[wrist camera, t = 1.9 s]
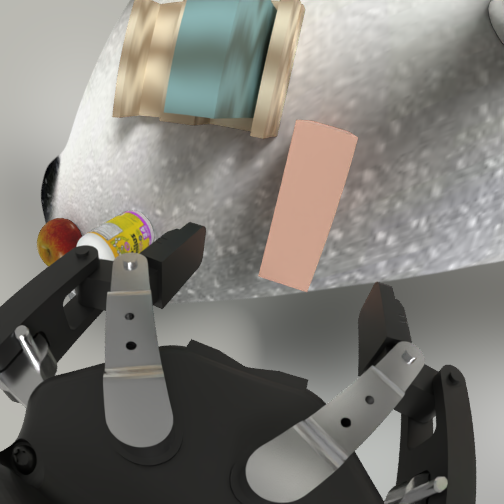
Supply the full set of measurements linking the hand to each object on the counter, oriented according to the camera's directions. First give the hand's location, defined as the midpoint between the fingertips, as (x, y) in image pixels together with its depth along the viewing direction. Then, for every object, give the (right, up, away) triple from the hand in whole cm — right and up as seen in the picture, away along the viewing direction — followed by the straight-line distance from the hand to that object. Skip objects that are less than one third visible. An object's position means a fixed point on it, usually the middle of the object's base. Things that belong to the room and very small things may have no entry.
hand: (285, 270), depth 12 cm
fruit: (-34, +4, +31) cm, 46 cm away
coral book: (+5, +8, +15) cm, 18 cm away
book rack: (-6, +22, +12) cm, 26 cm away
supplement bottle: (-18, +4, +26) cm, 32 cm away
